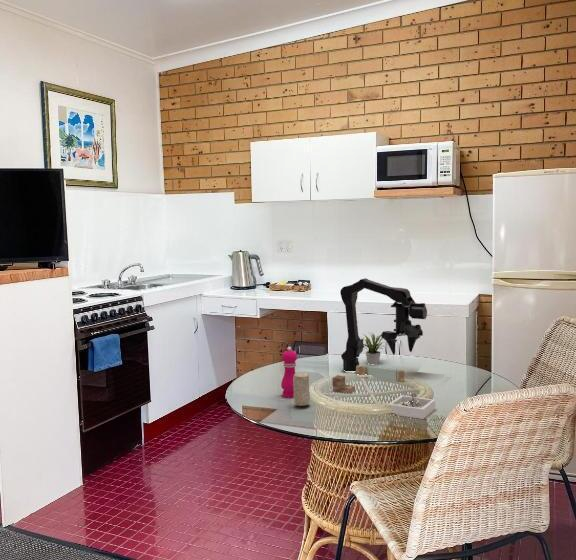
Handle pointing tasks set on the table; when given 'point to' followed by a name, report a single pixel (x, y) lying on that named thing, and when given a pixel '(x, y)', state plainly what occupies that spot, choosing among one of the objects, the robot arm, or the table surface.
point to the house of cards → (413, 404)
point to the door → (382, 373)
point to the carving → (301, 389)
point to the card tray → (412, 411)
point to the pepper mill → (288, 372)
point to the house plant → (372, 349)
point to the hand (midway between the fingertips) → (402, 353)
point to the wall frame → (362, 371)
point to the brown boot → (341, 385)
